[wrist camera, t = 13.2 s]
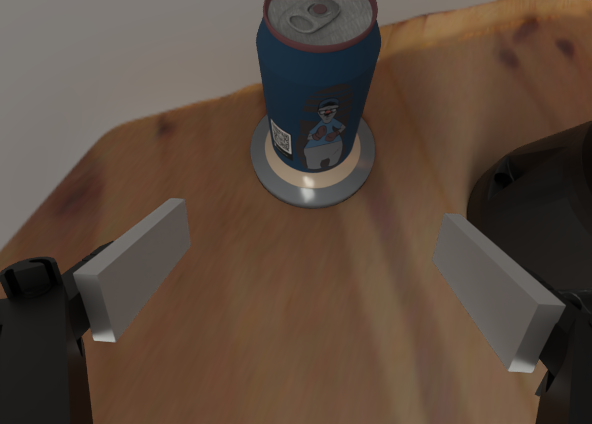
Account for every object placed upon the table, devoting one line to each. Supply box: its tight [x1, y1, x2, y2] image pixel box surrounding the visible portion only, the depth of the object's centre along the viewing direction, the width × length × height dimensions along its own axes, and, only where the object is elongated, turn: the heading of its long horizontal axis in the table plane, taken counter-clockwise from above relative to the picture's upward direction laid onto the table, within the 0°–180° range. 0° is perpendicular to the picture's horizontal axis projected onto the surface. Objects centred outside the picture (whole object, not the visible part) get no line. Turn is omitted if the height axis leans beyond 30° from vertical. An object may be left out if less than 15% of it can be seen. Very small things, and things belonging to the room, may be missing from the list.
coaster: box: [250, 114, 375, 209], centre depth 26 cm, size 11×11×1 cm
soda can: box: [256, 0, 381, 173], centre depth 20 cm, size 7×7×12 cm
